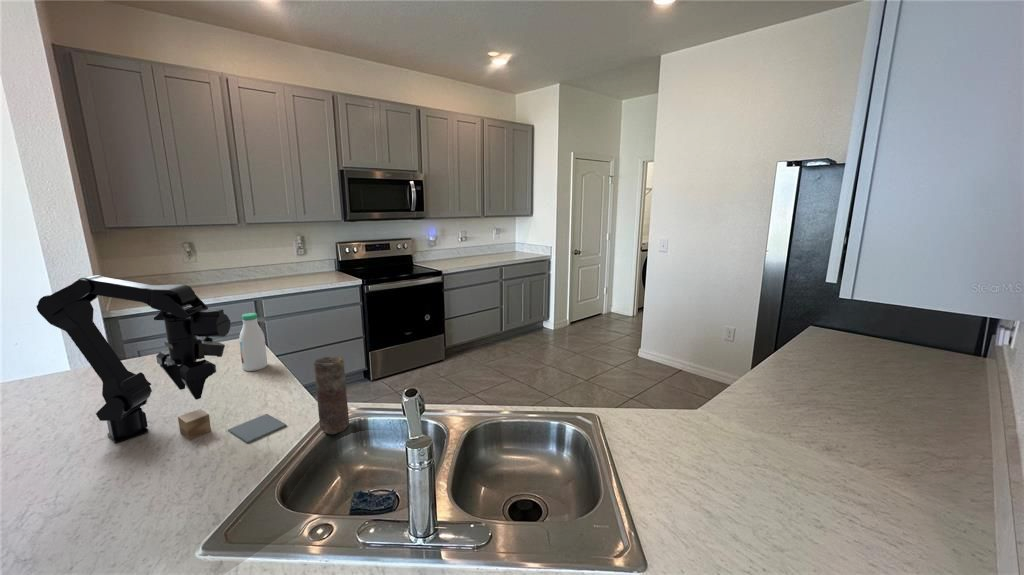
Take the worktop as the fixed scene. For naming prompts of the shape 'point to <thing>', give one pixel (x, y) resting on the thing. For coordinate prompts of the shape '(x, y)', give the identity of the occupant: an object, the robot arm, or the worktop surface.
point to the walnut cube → (194, 424)
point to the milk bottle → (252, 344)
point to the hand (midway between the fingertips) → (190, 393)
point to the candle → (331, 394)
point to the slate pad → (257, 428)
